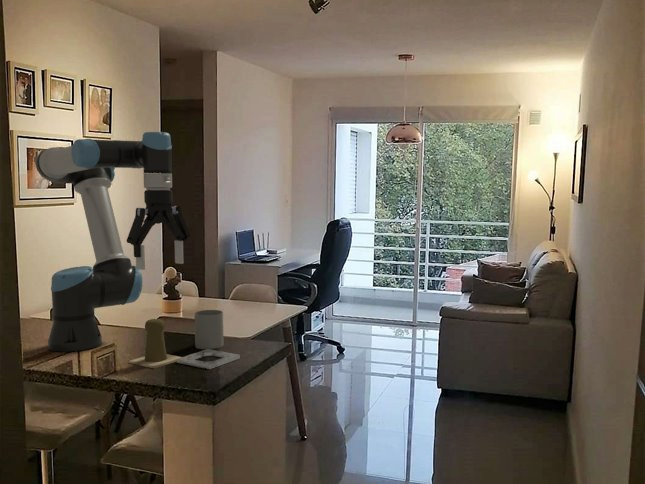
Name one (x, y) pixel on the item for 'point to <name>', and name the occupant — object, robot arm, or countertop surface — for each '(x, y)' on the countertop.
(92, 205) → the robot arm
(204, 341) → the cup
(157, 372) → the countertop surface
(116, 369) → the countertop surface
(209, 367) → the plate
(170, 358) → the coaster
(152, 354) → the pepper shaker
